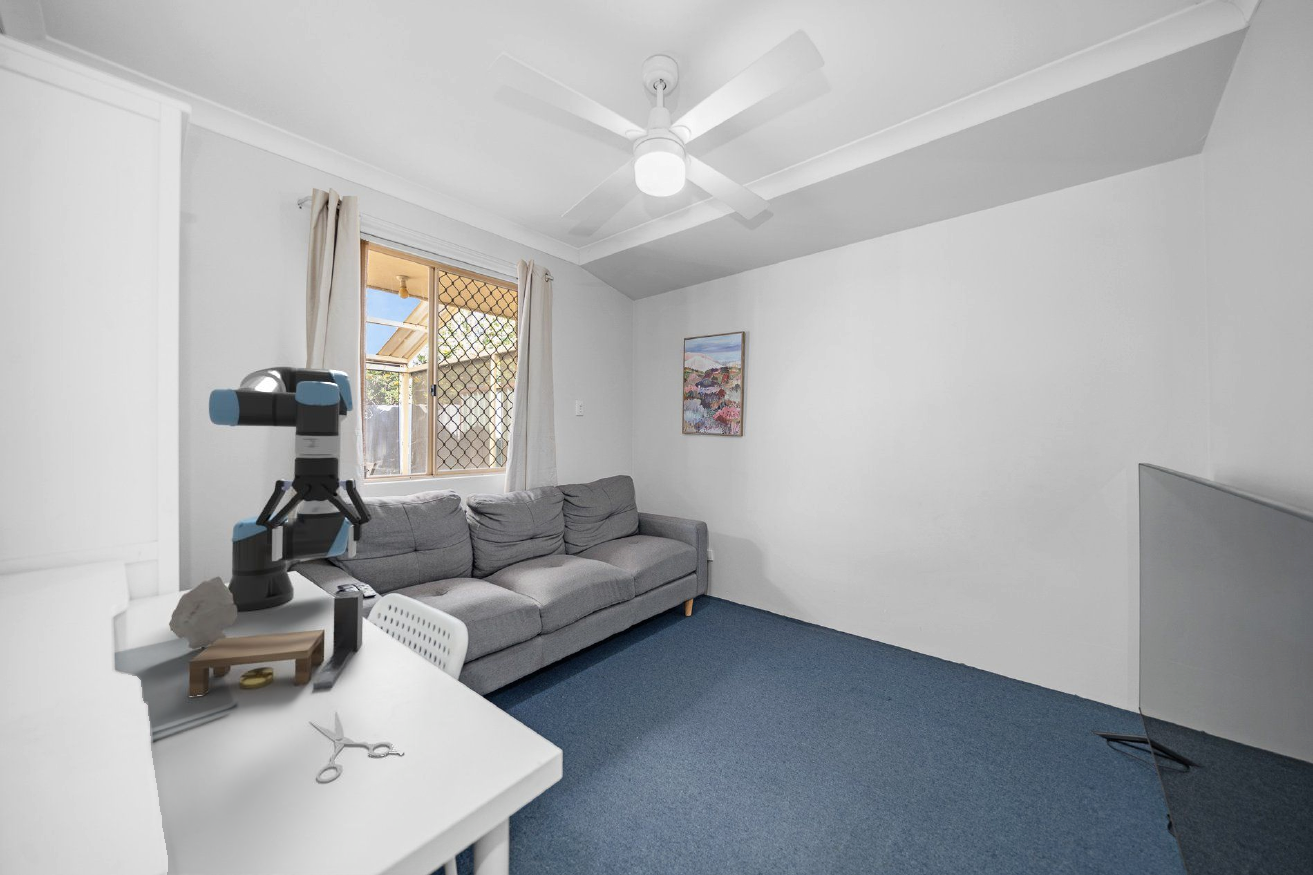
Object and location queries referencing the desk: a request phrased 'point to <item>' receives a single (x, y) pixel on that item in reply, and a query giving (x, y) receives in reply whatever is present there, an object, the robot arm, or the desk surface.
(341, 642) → the dark grey l-shaped block
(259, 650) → the stand
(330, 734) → the scissors
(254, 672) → the disc
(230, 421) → the robot arm
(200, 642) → the stone tool
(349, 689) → the desk surface
